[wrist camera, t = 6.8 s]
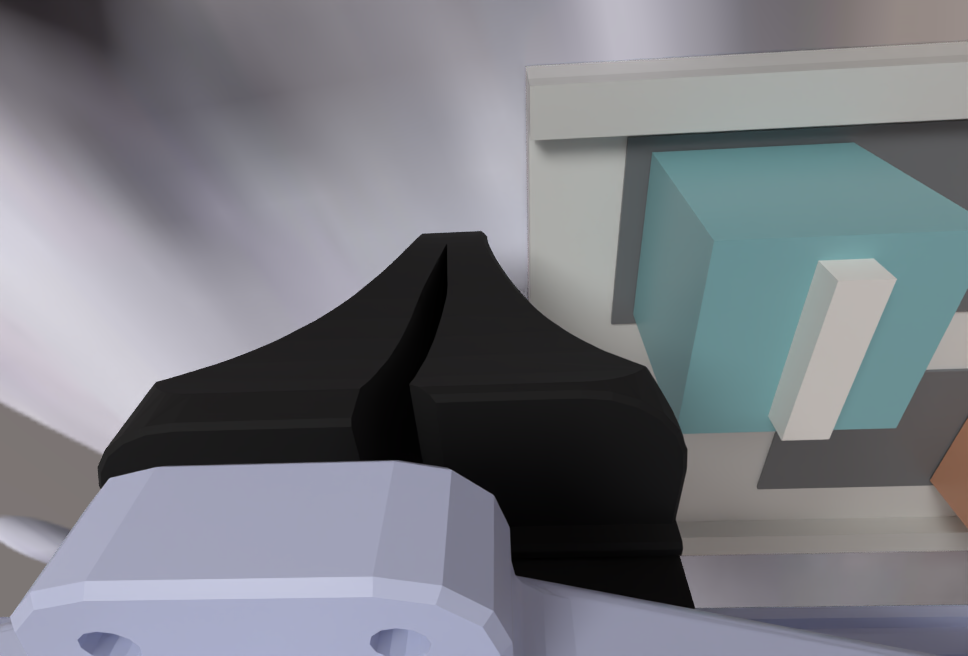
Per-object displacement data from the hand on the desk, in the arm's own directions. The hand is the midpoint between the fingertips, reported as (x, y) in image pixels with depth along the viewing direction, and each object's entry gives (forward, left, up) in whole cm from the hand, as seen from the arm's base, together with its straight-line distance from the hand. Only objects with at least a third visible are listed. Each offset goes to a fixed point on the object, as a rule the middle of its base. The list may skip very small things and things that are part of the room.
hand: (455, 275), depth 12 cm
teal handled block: (-6, 0, -1) cm, 6 cm away
